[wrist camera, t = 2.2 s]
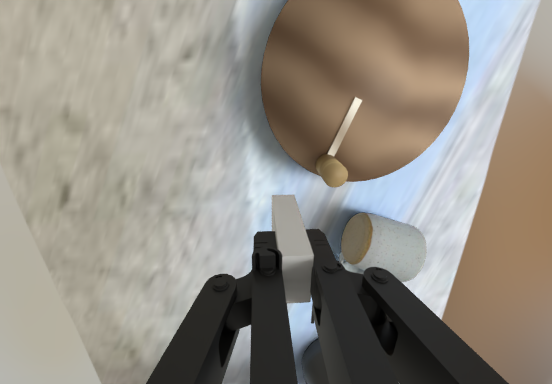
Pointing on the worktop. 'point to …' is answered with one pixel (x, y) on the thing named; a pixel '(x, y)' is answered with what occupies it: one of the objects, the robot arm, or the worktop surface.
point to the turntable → (363, 82)
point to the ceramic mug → (382, 246)
